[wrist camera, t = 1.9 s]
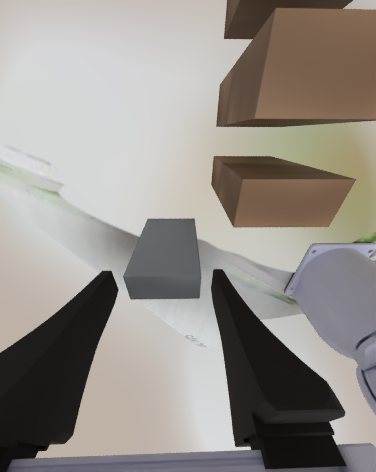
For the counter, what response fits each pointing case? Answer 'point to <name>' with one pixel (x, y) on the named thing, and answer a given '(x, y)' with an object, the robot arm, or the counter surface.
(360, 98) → the walnut domino
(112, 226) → the counter surface
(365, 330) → the robot arm
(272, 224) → the walnut domino
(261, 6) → the walnut domino
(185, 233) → the slate domino
